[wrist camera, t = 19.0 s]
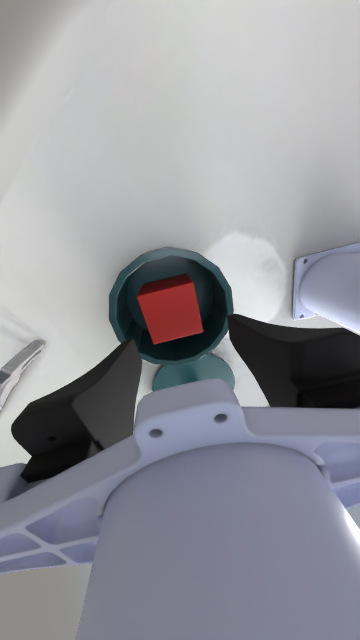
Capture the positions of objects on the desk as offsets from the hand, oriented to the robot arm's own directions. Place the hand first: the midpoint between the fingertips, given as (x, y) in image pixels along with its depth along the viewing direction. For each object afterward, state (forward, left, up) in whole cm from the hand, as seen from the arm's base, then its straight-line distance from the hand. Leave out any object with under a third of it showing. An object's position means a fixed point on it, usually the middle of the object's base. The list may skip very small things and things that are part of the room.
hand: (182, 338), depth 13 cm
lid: (+1, +13, -8) cm, 16 cm away
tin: (0, -1, -9) cm, 9 cm away
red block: (+1, -1, -8) cm, 8 cm away
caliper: (+25, +6, -9) cm, 28 cm away
